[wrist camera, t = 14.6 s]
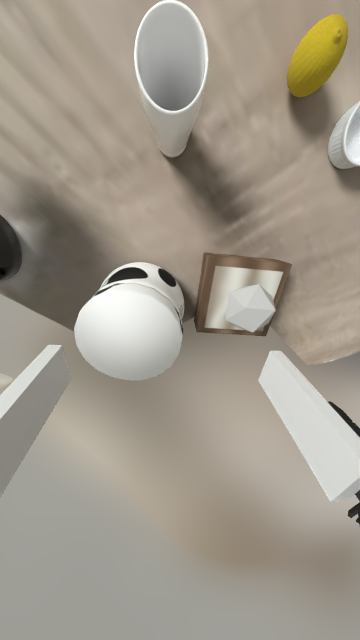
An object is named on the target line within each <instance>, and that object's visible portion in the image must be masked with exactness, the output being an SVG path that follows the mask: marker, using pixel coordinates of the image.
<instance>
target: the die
mask: <svg viewBox="0 0 360 640" xmlns="http://www.w3.org/2000/svg"><path fill="white" fill-rule="evenodd" d="M275 311H276V310H275V306H274V302H273V298H272V296H271V295H270V294H269V293H268V292H267V291H266V290H265V289H264V288H263V287H262V286H260V285H259V284H257V285H251V286H245V287H242V288H239V289H237V290H234V291H231V292H229V295H228V304H227V313H226V320H227V321H228V322H230V323H232V324H234V325H236V326H238V327H240V328H242V329H245V330H247V331H250V332H255V331H256V330H258V329H260V328H261V327H263V326H265V325H266V324H268V323H269V321H270V320H271V318H272V316H273V314H274V312H275Z"/></svg>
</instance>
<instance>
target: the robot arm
mask: <svg viewBox="0 0 360 640" xmlns="http://www.w3.org/2000/svg"><path fill="white" fill-rule="evenodd" d="M20 264H21V249H20V245H19V242H18V239H17V237H16V235H15V233H14V232H13V230H12V229H11V227H10V226H9V225H8V223H7V222H6V221H5V220H4V219H3V218H2V217H1V216H0V281H2V280H5V279H8V278H10V277H12V276H13V275H14V274H15V273H16V272H17V271H18V269H19V267H20ZM70 380H71V376H70V372H69V368H68V365H67V361H66V357H65V353H64V349H63V346H62V345H48V346H47V347H46V348H45V349H44V350H43V351H42V352H41V353H40V354H39V355H38V356H37V357H36V359H34V361H33V362H32V363H31V364H30V365H29V366H28V367H27V368H26V369H25V370H24V371H23V372H22V373H21V374H20V375H19V376H18V377H17V378H16V379H15V380H14V381H13V382H12V384H11V385H10V386H9V387H8V388H7V389H6V390H5V391H4V392H3V393H2V394H1V395H0V497H1V495H2V494H3V492H4V490H5V489H6V487H7V485H8V484H9V482H10V480H11V479H12V477H13V475H14V474H15V472H16V470H17V469H18V467H19V465H20V464H21V462H22V460H23V459H24V457H25V455H26V454H27V452H28V450H29V449H30V447H31V445H32V444H33V442H34V440H35V439H36V437H37V435H38V434H39V432H40V430H41V429H42V427H43V425H44V424H45V422H46V420H47V419H48V417H49V415H50V414H51V412H52V410H53V409H54V407H55V405H56V404H57V402H58V400H59V399H60V397H61V395H62V394H63V392H64V390H65V388H66V387H67V385H68V384H69V382H70ZM258 381H259V382H260V384H261V386H262V387H263V389H264V391H265V392H266V394H267V396H268V397H269V399H270V400H271V402H272V404H273V406H274V407H275V409H276V411H277V413H278V414H279V416H280V418H281V419H282V421H283V422H284V424H285V426H286V428H287V429H288V431H289V433H290V434H291V436H292V438H293V440H294V441H295V443H296V444H297V446H298V448H299V450H300V451H301V453H302V455H303V456H304V458H305V460H306V461H307V463H308V465H309V466H310V468H311V470H312V471H313V473H314V475H315V477H316V478H317V480H318V482H319V483H320V485H321V486H322V488H323V490H324V491H325V493H326V495H327V497H328V498H329V500H330V502H335V501H347V500H348V499H350V498H351V497H352V496H354V495H356V496H357V498H358V499H359V501H360V428H359V427H358V426H357V425H356V424H355V423H353V422H352V420H351V419H350V418H349V417H348V416H347V415H346V413H344V411H343V410H341V409H340V408H339V407H337V406H336V405H335V404H333V403H332V402H327V401H326V400H325V399H324V398H323V397H322V396H321V394H320V393H319V392H318V391H317V390H316V389H315V388H314V387H313V386H312V385H311V383H310V382H309V381H308V380H307V379H306V378H305V377H304V376H303V375H302V374H301V372H300V371H299V370H298V369H297V368H296V367H295V366H294V365H293V364H292V363H291V361H290V360H289V359H288V358H287V357H286V356H285V355H284V354H283V353H282V351H270V353H269V355H268V358H267V360H266V363H265V365H264V368H263V370H262V372H261V375H260V377H259V380H258ZM356 514H358V516H359V518H357V520H356V522H358V523H359V524H360V502H359V503H358V504H357V505H355V506H354V507H353V508H351V509H350V510H349V511H348V516H349V517H350V518H352V517H353V516H355V515H356Z"/></svg>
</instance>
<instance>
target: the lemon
mask: <svg viewBox="0 0 360 640" xmlns="http://www.w3.org/2000/svg"><path fill="white" fill-rule="evenodd" d="M347 39H348V27H347V23H346V21H345V19H344V18H343V17H342V16H341V15H338V14H333V15H329V16H327V17H325V18H323V19H321V20H320V21H319V22H318V23H317V24H316V25H314V26H313V27H312V28H311V29H310V30H309V31H308V33H307V34H306V35H305V36H304V38H303V39H302V40H301V42H300V43H299V45H298V47H297V49H296V51H295V53H294V55H293V57H292V59H291V62H290V65H289V69H288V75H287V83H288V88H289V90H290V92H291V93H292V94H293V95H294V96H296V97H305V96H308V95H310V94H311V93H313V92H315V91H316V90H317V89H319V88H320V87H321V86H322V85H323V84H324V83H325V82H326V81H327V79H328V78H329V77H330V76H331V74H332V73H333V71H334V70H335V68H336V67H337V65H338V64H339V62H340V60H341V58H342V56H343V53H344V50H345V47H346V44H347Z"/></svg>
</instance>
